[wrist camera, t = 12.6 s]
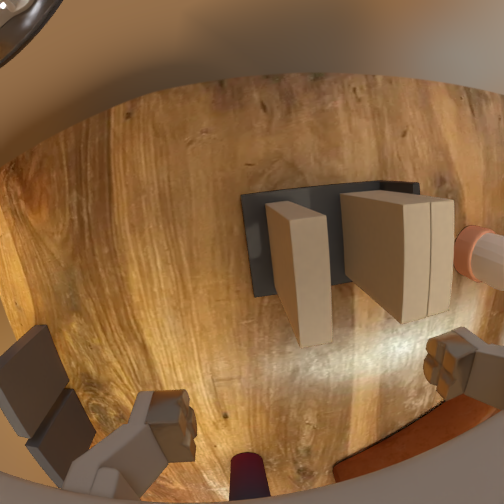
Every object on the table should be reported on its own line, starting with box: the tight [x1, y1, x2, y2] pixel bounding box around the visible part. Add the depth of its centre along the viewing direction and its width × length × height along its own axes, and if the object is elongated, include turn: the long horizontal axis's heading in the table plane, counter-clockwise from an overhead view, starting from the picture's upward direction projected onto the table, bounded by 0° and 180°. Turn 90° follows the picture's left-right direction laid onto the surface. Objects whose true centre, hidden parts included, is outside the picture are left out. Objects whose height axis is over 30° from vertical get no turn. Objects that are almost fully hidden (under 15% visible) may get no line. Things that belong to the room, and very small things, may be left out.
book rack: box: [241, 180, 454, 324], centre depth 27 cm, size 11×16×14 cm
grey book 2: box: [25, 389, 96, 488], centre depth 31 cm, size 9×2×13 cm, turn 7°
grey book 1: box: [0, 325, 69, 439], centre depth 28 cm, size 9×2×13 cm, turn 7°
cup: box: [229, 453, 271, 501], centre depth 34 cm, size 7×7×15 cm
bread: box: [333, 394, 501, 483], centre depth 36 cm, size 14×33×16 cm, turn 117°
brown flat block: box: [265, 201, 333, 348], centre depth 26 cm, size 9×2×13 cm, turn 7°
